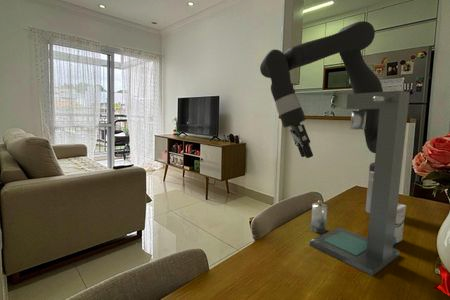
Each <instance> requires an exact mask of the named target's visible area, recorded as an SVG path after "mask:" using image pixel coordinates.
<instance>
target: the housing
mask: <svg viewBox="0 0 450 300" xmlns="http://www.w3.org/2000/svg"><path fill="white" fill-rule="evenodd" d="M311 205H312V206H311V222H310V223H311V224H310V230H311V231H312V232H313V233H315V234H325V233H327V232H326V231H327V217H328V204H326V203H324V202H323V200H320V199H319V200H317V202H312V204H311Z"/></svg>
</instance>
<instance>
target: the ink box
mask: <svg viewBox="0 0 450 300" xmlns="http://www.w3.org/2000/svg"><path fill="white" fill-rule="evenodd" d="M406 209H407V205H405V204H401V203H399V202H398V205H397V215H396V224H395V233H394V242H393V246H394V245H396V244H397V243H400V242H402V240H403V235H404V234H403V232H404V225H405V217H406Z"/></svg>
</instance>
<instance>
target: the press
mask: <svg viewBox="0 0 450 300" xmlns="http://www.w3.org/2000/svg"><path fill="white" fill-rule="evenodd" d="M346 96H347V97H346V107H345V108H346V110H351V116H350V117H351V118H350V130H364V129H365V122H366V111H359V109H380V112H379V122H378V133H377V144H376V153H374V155H375V156H374V163H375V165H374V176H373V186H372V197H371V208H370V214H369V221H368V231H367V237H366V236H363V235H360V234H358V233H355V232H353V231H351V230H347V229H345V228H342V227H339V226H338V227H336V228H333V229H331V230H330V231H327V232H325V233H322V234H320V235H318V236H317V237H314V238H312V239H310V240H309V245H310V246H311V247H313V248H315V249H318V250H319V251H321V252H324V254H325V253H326V254H328V255H329V256H332V257H333V258H335V259H337V260H339V261H342V262H344V263H346V264H347V265H350V266H351V267H354V268H355V269H357V270H359V271H362V272H364V273H366V274H367V275H369V276H371V277H373V276H375V275H376V274H377V273H379V272H380V271H381V270H382V269H383V268H385V267H386V266H387V265H389V264H390V263H391V262H392V261H394V260H395V259H397V258H398V257H399V256H400V249H397V248H395V247H394V245H393V242H394V233H395V224H396V215H397V205H398V203H399V194H400V188H401V187H400V186H401V178H402V168H403V167H402V166H403V158H404V148H405V139H406V132H407V121H408V115H409V114H408V113H409V103H410V97H411V93H410V91H405V90H392V91H383V92H373V93H358V94H354V93H347V95H346Z"/></svg>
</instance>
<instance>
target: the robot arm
mask: <svg viewBox="0 0 450 300" xmlns="http://www.w3.org/2000/svg"><path fill="white" fill-rule="evenodd" d="M375 34H376V31H375V28H374V26H373V24H371V23H370V22H369V21H365V20H362V21H357V22H355V23H354V22H353V23H351V24H349V25H347V26H344V27H343V28H341V29H339V31H338V32H336V33H333V34H330V35H327V36H324V37H320V38H318V39H314V40H310V41H306V42H302V43H300V44H296V45H293V46H291V47H290V48H288V49H286V50H285V51H284V52H282V51H281V50H279V49H271V50H269V51H268V52H267V53H266V55H265V56H264V58H263V59H262V61H261V64H260V66H259V70H260V71H259V72H260V74H261V75H262V76H263V77H265V78H268V79H270V80H271V82H270V83H271V85H270V92H271V95H272V97H273V100H274V103H275V107H276V110H277V113H278V116H279V118H280V121H281V124H282V127H283V128H289V127H290V134H291V136H292V139H293V142H294V145H295V146H296V147H297V149H298V151H299V154H300V157H302V158H304V157H305V158H306V159H309V158H313V157H314V154H313V150H312V148H311V146H310V145H311V140H310V138H309V135H308V132H307V129H306V127H305V124H301V123H302V122H304V121H306V120H307V119H306V115H305V113H304V110H303V108H302V107H303V106H302V105H301V102H300V99H299V97H298V96H297V94H296V92H295V91H296V90H295V89H294V86H293V84H292V80H291V73H290V71H291V70H294V69H296V68H302V67H304V66H307V65H309V64H312V63H315V62H317V61H321V60H323V59H325V58H328V57H330V56H334V55H336V54H339V56H340V58H341V60H342V62H343V65H344V67H345V70H346V72H347V76H348V80H349V82H350V86H351V88H352V92H353V93H352V94H358V93H373V92H384V90H383V86H382V82H381V80H380V79H379V77H378V75H377V74H376V73H375V72H374V71H373V70H372V69H371V68H370V67H369V66H368V65H367V63H366V62H365V60H364V58H363V55H362V50H365V49H366V48H368V47H369V46H371V44H372V43H373V42H374V39H375ZM358 111H366V122H365V129H363V132H364V137H365V143H366V147H367V149H368V151H369V152H370V153H372V154H376V144H377V133H378V122H379V112H380V109H358ZM374 165H375V162H371V163H370V164H369V166H368V167H369V168H368V181H367V182H368V183H367V191H366V200H365V201H366V202H365V212H366V213H367V214H369V215H370V208H371V197H372V186H373V176H374Z"/></svg>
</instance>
